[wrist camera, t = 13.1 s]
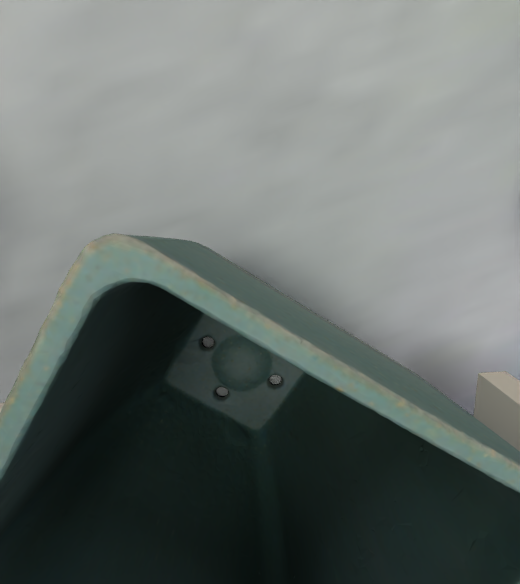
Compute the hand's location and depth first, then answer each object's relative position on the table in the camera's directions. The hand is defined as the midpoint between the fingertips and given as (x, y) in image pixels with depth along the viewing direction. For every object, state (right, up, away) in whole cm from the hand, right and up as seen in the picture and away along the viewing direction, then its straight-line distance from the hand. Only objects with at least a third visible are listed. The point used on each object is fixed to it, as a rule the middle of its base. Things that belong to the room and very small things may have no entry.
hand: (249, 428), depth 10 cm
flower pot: (0, +1, +4) cm, 5 cm away
